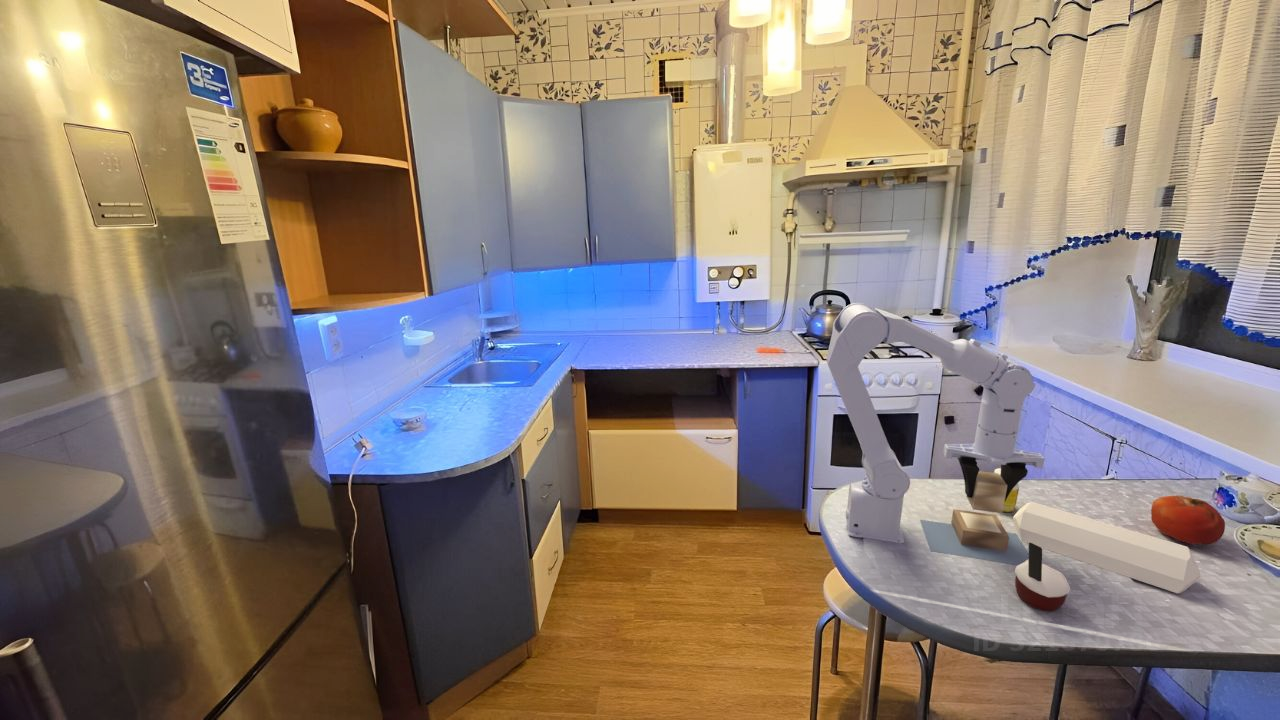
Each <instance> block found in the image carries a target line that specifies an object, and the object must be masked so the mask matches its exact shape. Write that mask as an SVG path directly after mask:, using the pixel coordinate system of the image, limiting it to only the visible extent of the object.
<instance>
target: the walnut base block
mask: <svg viewBox="0 0 1280 720" xmlns="http://www.w3.org/2000/svg"><path fill="white" fill-rule="evenodd" d="M950 524H952V526H953V528H954V530H955V532H956V535H957V537H958V539H959V542H960V544H961V545H967V546H974V547H980V548H986V549H993V550H999V551H1007V546H1008V541H1009V536H1008V534H1007V532H1008V531H1006V529H1005V527H1004V526H1003V524H1002V522H1001V521H1000V519H999V518H998V516H997V514H991V513H985V512H976V511H971V510H970V511H968V510H963V509H955V508H953V510H952V516H951V523H950Z"/></svg>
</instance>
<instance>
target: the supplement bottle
mask: <svg viewBox="0 0 1280 720" xmlns="http://www.w3.org/2000/svg"><path fill="white" fill-rule="evenodd" d="M993 473H999V474H1001V467H999V468H995V469H994V471H993ZM1019 491H1020V485H1019V482H1018V483H1017V484H1016V486H1015V487H1014V488H1013V489H1012V491H1011V492H1010V494H1009V495H1008V497H1007V499H1006V501H1005V502H1004V506H1003V511H1002V513H999V514H1000V515H1009V516H1010V515H1013V514H1014V513H1015V510H1016V506H1017V500H1018V495H1019Z"/></svg>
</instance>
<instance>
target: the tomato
mask: <svg viewBox="0 0 1280 720" xmlns="http://www.w3.org/2000/svg"><path fill="white" fill-rule="evenodd" d="M1150 513H1151V514H1150V515H1151V516H1150V517H1151V522H1152V523H1153V525H1154V526H1155V528H1156V529H1157V530H1158V531H1160V533H1162V534H1163V535H1166V536H1169V537H1172V538H1174V539H1175V540H1178V541H1179V542H1183V543H1186V544H1191V545H1201V546H1202V545H1203V546H1209V545H1212V544H1215V543H1216V542H1218V541H1220V539H1221V538H1222V537H1223V536H1224V533H1225V531H1226V530H1225V529H1226V521H1225V519H1224V518H1223V517H1222V515H1221V513H1220V512H1219V511H1218V510H1217V509H1216V508H1215V507H1214V506H1212V505H1211V504H1209V503H1208V502H1207V501H1206V500H1205V501H1204V500H1202V499H1199V498H1193V497H1190V496H1187V497H1186V496H1182V495H1179V494H1176V495H1167V496H1162V497H1161V496H1160V497H1159V498H1156V499H1155V500H1153V502H1152V504H1151V509H1150Z"/></svg>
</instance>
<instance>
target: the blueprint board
mask: <svg viewBox="0 0 1280 720" xmlns="http://www.w3.org/2000/svg"><path fill="white" fill-rule="evenodd" d="M919 521H920V524H921V528H922V530H923V534H924V536H925V539H926V542H927V544H928V545H927V546H928V548H929V550H930V552H934V553H939V554H946V555H947V554H948V555H952V556H958V557H963V558H965V557H966V558H971V559H977V560H982V561H989V562H996V563H1003V564H1009V565H1014V566H1018V565H1020V564H1022V563H1024V562H1025V561H1026V560H1028V559H1029V550H1028V549H1027V548H1026V547H1025V545H1024V543H1023V541H1022V540H1021V539H1020V537H1019V535H1018V533H1017V532H1009V531H1006V532H1007V534H1008V536H1009V541H1008V546H1007V551H999V550H993V549H986V548H980V547H974V546H967V545H961V544H960V542H959V539H958V537H957V535H956V532H955V530H954V528H953V526H952V523H947V522H938V521H933V520H925V519H919Z"/></svg>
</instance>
